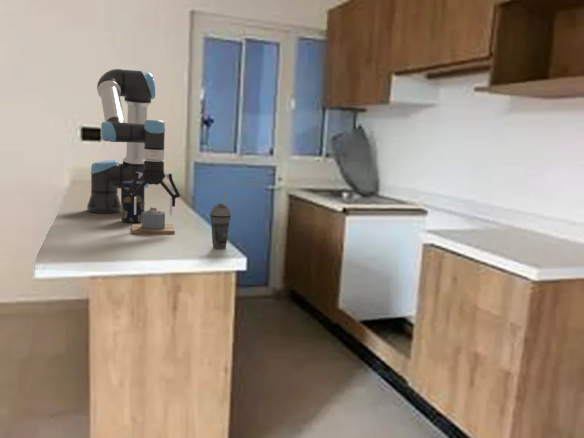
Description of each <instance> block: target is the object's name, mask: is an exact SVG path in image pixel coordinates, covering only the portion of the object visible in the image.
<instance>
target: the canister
mask: <svg viewBox="0 0 584 438" xmlns="http://www.w3.org/2000/svg"><path fill="white" fill-rule="evenodd" d="M132 182H133V179H132V181H124V182H122V183H121V189H120V190H121V191H120V194H121V195H120V196H121V197H120V203H121V212H120V219H121V221H122V222H127V223H139V222H140V223H142V212H143V211H145V206H146V205H145V204H146V203H145V188H144V187H143V188H142V189H141V190H140V191H139V192H138V194H137V195H136V196H135V197H136V215H134V206H131V197H129V196H127V195H126V193H127V191H128V189H129V188H130V186H131V184H132ZM142 183H143V182H140V181H137V182H136V184H135V186H134V188H133V190H132V191H131V193H133V192H134V191H135V190H136V189H137V188H138V187H139V186H140V185H141V184H142Z"/></svg>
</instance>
